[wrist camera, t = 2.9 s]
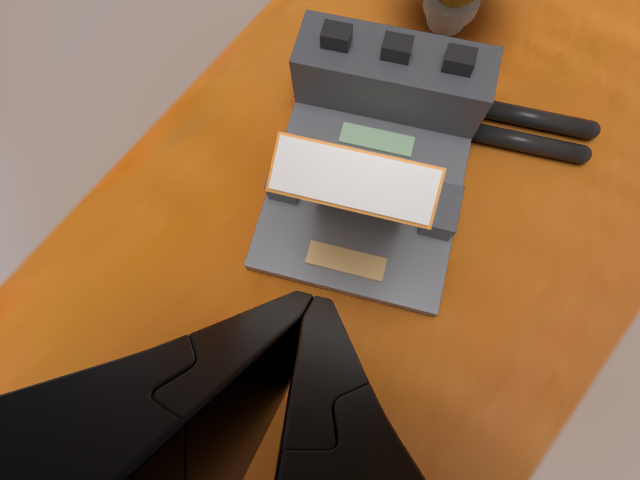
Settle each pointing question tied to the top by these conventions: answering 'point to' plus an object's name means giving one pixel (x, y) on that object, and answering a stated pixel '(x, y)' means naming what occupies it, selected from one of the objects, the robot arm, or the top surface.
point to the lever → (355, 180)
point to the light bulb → (449, 15)
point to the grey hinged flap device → (392, 153)
